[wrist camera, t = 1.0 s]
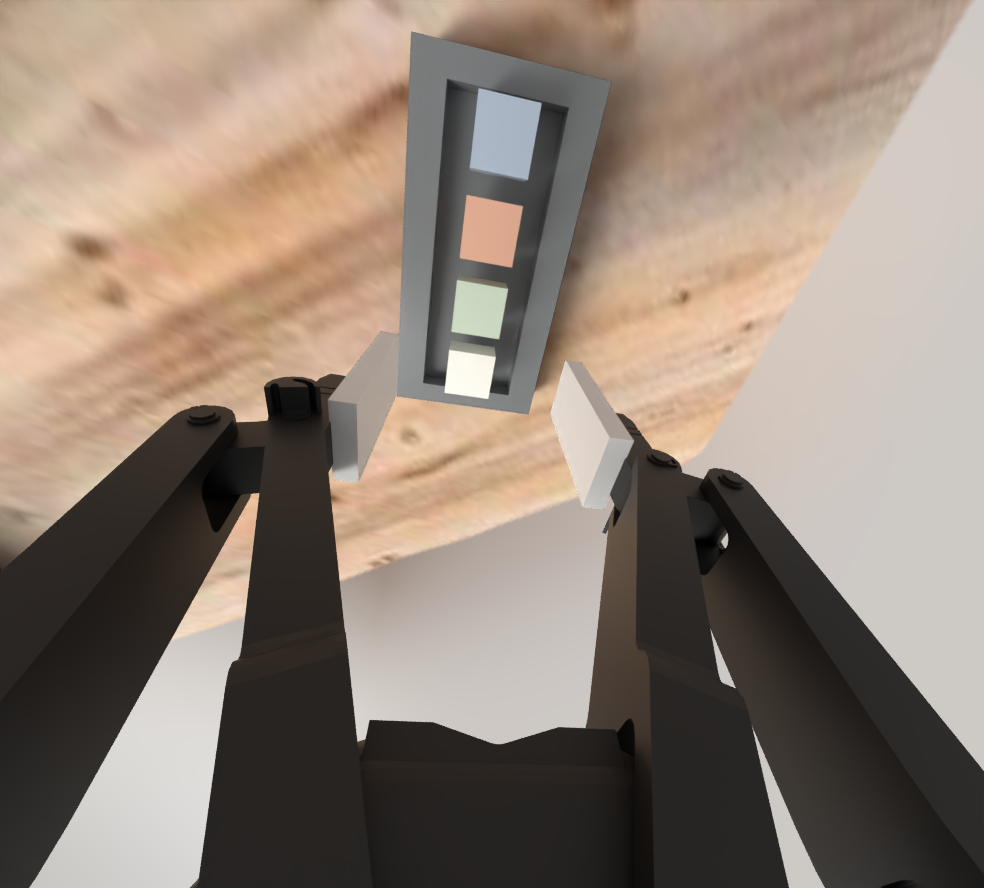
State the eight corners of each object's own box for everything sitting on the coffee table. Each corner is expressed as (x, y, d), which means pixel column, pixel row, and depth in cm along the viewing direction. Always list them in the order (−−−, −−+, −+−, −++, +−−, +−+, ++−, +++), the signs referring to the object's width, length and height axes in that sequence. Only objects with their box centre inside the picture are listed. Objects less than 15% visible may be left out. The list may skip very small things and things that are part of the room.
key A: (470, 170, 25) (469, 167, 23) (478, 98, 23) (478, 88, 21) (523, 181, 25) (527, 179, 23) (536, 111, 23) (541, 103, 21)
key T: (460, 253, 27) (459, 257, 25) (467, 195, 26) (466, 194, 23) (509, 263, 28) (512, 267, 26) (519, 206, 26) (523, 206, 24)
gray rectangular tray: (404, 378, 37) (396, 396, 33) (420, 55, 25) (411, 31, 21) (523, 395, 38) (528, 414, 35) (594, 97, 26) (611, 81, 23)
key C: (453, 323, 30) (451, 331, 28) (458, 274, 28) (457, 280, 26) (497, 330, 30) (499, 339, 28) (505, 283, 29) (508, 289, 27)
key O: (446, 381, 33) (444, 392, 31) (451, 340, 31) (449, 349, 29) (487, 386, 33) (488, 398, 31) (494, 347, 31) (495, 357, 29)
